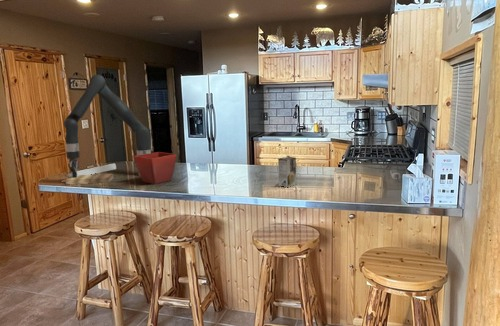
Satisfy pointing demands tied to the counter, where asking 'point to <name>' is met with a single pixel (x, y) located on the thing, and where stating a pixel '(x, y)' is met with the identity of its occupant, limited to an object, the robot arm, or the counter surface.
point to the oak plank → (79, 179)
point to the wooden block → (101, 178)
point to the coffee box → (287, 171)
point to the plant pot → (155, 166)
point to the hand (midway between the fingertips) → (74, 177)
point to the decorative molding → (95, 170)
